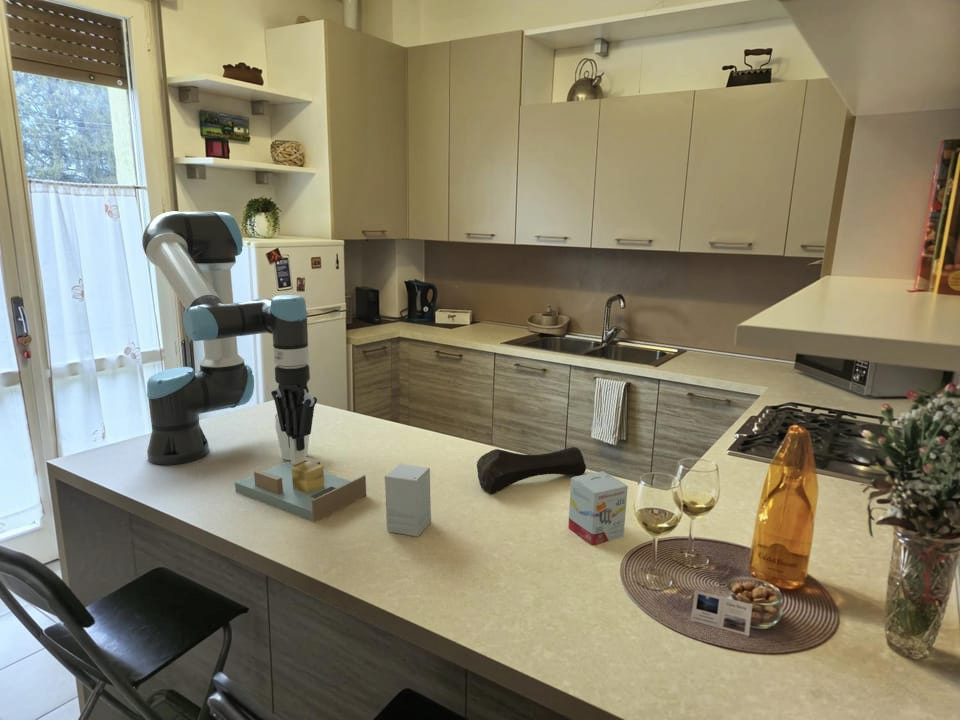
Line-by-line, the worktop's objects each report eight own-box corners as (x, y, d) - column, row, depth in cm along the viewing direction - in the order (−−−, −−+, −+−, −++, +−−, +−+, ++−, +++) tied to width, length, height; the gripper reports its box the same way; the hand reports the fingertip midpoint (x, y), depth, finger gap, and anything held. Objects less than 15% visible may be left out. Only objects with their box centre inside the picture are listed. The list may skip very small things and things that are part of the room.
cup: (302, 463, 166) (299, 420, 163) (271, 461, 168) (268, 418, 165) (317, 451, 175) (315, 410, 172) (287, 449, 176) (285, 408, 174)
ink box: (592, 546, 126) (595, 492, 123) (567, 528, 133) (569, 476, 131) (625, 537, 130) (629, 484, 127) (599, 519, 137) (602, 469, 134)
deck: (235, 491, 149) (233, 468, 148) (289, 469, 162) (287, 448, 161) (314, 522, 135) (312, 497, 134) (366, 495, 148) (365, 472, 147)
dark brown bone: (479, 503, 149) (578, 496, 161) (493, 474, 143) (595, 469, 155) (466, 467, 157) (562, 463, 169) (479, 439, 151) (577, 436, 163)
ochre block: (292, 488, 146) (291, 468, 145) (309, 480, 150) (308, 461, 149) (307, 493, 143) (306, 473, 142) (324, 485, 147) (323, 465, 146)
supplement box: (432, 521, 136) (431, 467, 133) (417, 537, 129) (416, 480, 126) (401, 516, 138) (399, 462, 135) (385, 531, 131) (383, 475, 128)
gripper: (259, 363, 142) (266, 460, 148) (298, 372, 135) (304, 474, 141) (285, 357, 148) (291, 451, 154) (324, 365, 141) (329, 463, 147)
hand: (297, 462), depth 147 cm, fingers closed
